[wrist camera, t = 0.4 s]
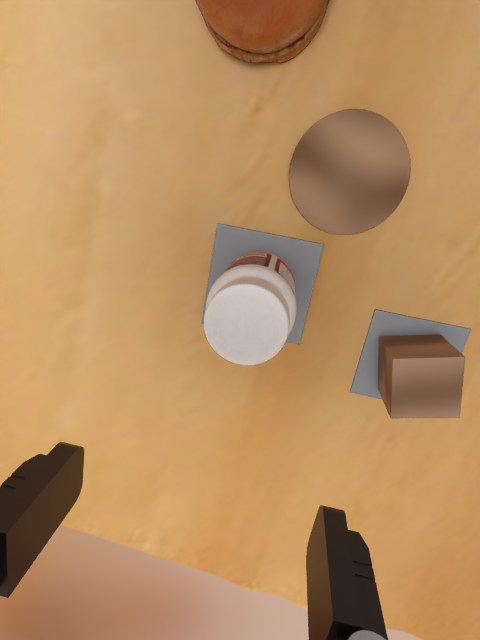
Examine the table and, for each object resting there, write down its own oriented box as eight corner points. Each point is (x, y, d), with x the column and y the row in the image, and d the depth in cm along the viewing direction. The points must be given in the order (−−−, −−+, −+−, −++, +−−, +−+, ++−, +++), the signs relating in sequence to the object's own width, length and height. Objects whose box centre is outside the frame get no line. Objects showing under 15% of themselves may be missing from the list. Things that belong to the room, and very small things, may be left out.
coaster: (303, 101, 29) (303, 99, 29) (424, 122, 29) (427, 120, 28) (278, 222, 32) (278, 223, 31) (388, 244, 31) (389, 244, 31)
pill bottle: (212, 297, 35) (176, 342, 24) (246, 236, 33) (223, 254, 22) (272, 332, 35) (263, 391, 24) (309, 273, 33) (318, 309, 22)
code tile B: (375, 309, 33) (375, 309, 33) (470, 329, 33) (471, 329, 33) (350, 391, 36) (350, 392, 36) (438, 411, 35) (438, 411, 35)
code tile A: (217, 223, 33) (217, 223, 33) (323, 244, 32) (323, 244, 32) (201, 323, 36) (201, 323, 35) (299, 344, 35) (299, 344, 35)
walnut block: (378, 336, 34) (392, 358, 29) (440, 334, 33) (465, 357, 28) (377, 388, 35) (391, 418, 30) (436, 387, 34) (459, 418, 30)
